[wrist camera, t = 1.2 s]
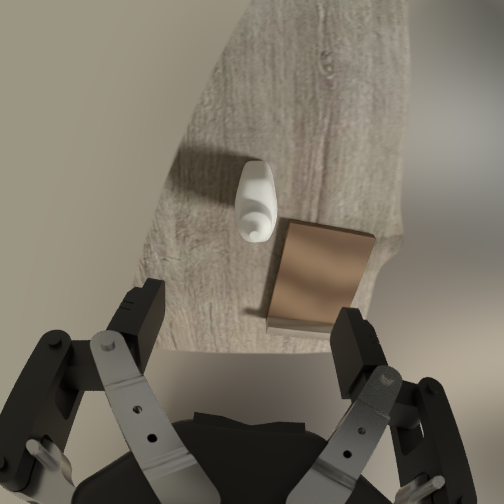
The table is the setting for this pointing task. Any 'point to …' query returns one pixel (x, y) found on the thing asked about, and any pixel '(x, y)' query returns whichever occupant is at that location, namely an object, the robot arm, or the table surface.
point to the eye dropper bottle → (256, 202)
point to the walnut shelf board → (316, 279)
